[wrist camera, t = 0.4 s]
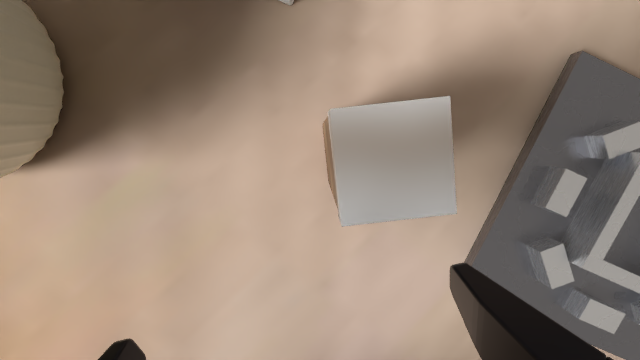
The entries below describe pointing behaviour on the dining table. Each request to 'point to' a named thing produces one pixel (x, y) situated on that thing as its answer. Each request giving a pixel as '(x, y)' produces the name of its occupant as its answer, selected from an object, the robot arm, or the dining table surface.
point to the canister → (26, 85)
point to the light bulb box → (287, 1)
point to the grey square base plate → (575, 210)
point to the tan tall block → (391, 160)
